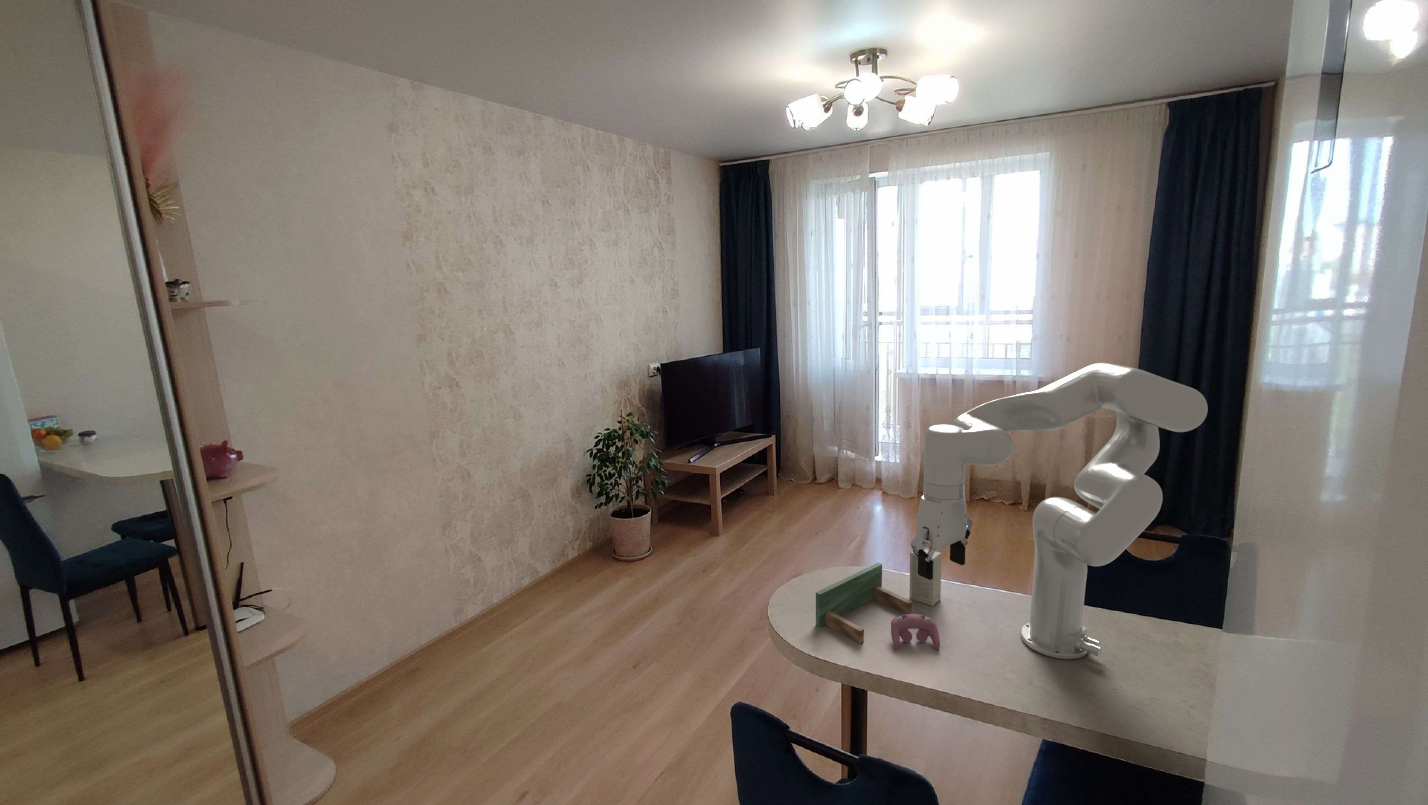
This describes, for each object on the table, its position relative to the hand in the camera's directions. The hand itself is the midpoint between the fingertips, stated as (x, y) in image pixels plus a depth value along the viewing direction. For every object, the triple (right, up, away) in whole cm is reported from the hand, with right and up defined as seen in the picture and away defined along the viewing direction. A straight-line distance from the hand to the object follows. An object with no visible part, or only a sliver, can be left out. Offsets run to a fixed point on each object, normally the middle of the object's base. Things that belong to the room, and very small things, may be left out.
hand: (941, 569), depth 125 cm
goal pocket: (-10, -16, +19) cm, 26 cm away
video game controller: (-3, -18, +9) cm, 21 cm away
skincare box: (+5, -14, +26) cm, 30 cm away
